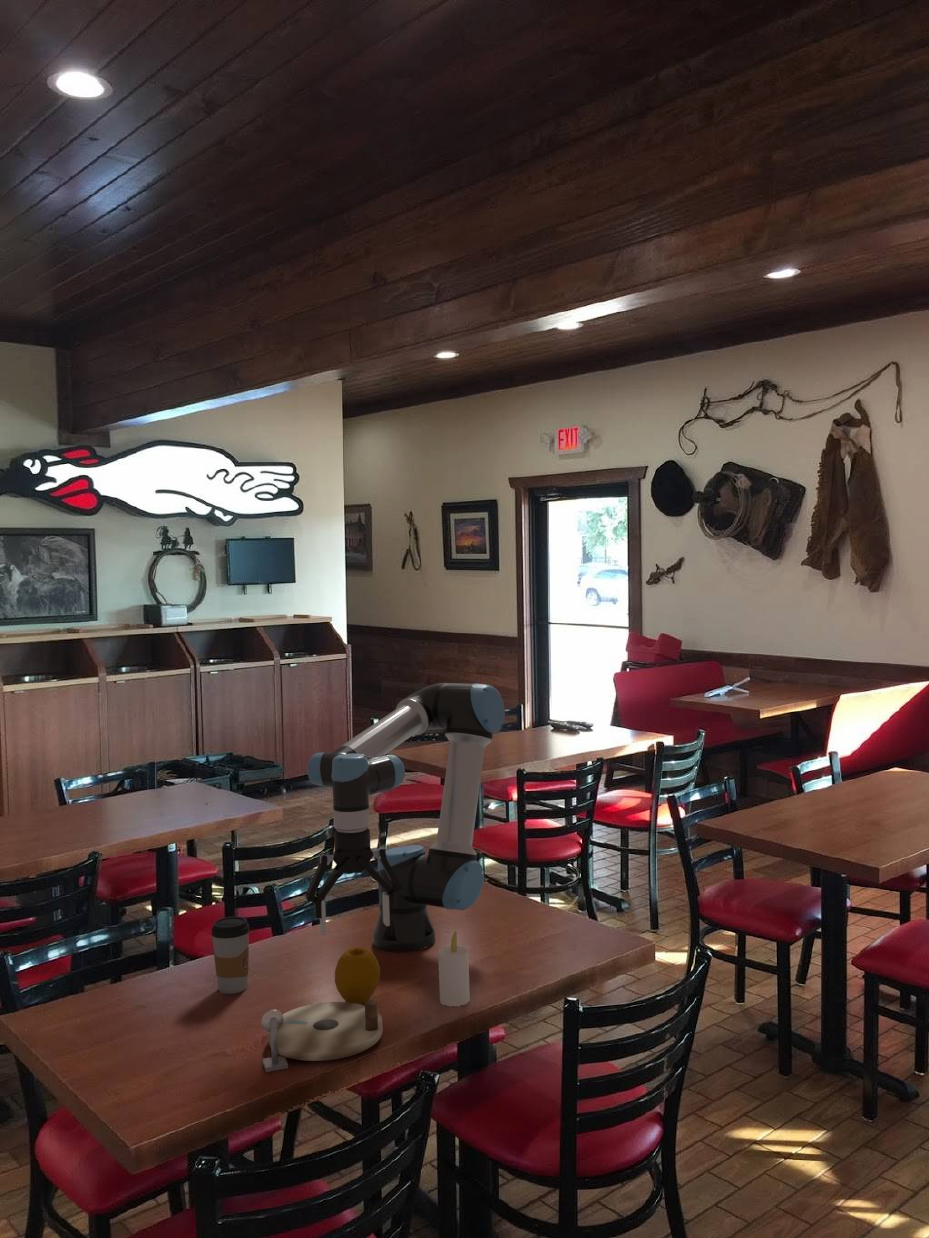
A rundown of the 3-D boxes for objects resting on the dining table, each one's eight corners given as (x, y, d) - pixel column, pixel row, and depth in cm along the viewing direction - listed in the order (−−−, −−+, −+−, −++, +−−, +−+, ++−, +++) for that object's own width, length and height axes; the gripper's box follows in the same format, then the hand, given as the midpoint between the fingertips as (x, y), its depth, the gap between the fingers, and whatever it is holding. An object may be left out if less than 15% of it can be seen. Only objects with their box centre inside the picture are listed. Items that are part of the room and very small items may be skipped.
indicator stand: (284, 1058, 199) (282, 1006, 198) (287, 1068, 195) (285, 1014, 194) (262, 1062, 197) (260, 1010, 197) (266, 1072, 194) (263, 1018, 193)
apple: (386, 1008, 220) (384, 952, 220) (340, 1015, 218) (337, 959, 217) (376, 991, 230) (374, 937, 229) (332, 997, 227) (330, 943, 226)
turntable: (397, 1015, 214) (396, 981, 214) (359, 1065, 193) (358, 1027, 192) (296, 1007, 220) (295, 974, 219) (249, 1055, 198) (247, 1018, 198)
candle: (447, 992, 227) (445, 923, 227) (474, 997, 225) (472, 927, 224) (433, 1003, 222) (431, 933, 221) (461, 1008, 219) (459, 937, 218)
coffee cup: (243, 997, 229) (240, 928, 228) (207, 995, 231) (204, 927, 230) (258, 982, 237) (255, 916, 236) (223, 980, 239) (220, 915, 238)
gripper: (404, 818, 230) (407, 915, 230) (289, 830, 222) (293, 930, 222) (413, 826, 223) (417, 925, 223) (295, 838, 214) (299, 942, 215)
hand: (355, 928), depth 223 cm, fingers open, 13 cm apart
